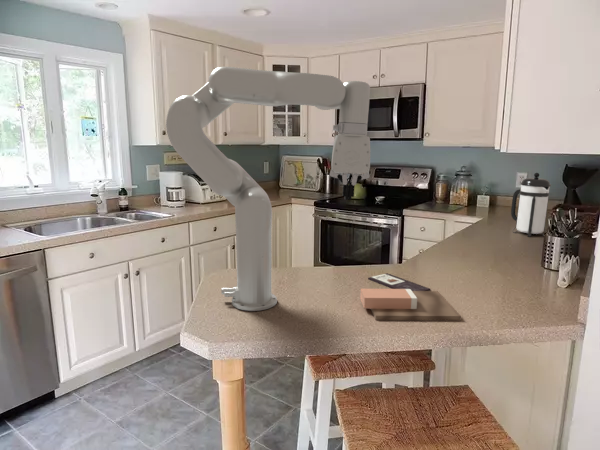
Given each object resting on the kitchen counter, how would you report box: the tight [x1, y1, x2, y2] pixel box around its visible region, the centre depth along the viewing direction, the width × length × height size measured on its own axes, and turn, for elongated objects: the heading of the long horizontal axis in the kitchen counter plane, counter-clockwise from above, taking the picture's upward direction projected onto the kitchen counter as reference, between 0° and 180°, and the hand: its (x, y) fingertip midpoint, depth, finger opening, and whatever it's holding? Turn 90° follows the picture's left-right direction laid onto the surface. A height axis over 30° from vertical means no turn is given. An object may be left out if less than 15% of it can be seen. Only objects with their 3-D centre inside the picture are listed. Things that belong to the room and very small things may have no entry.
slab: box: [360, 288, 417, 310], centre depth 117 cm, size 3×7×14 cm
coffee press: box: [510, 172, 552, 238], centre depth 208 cm, size 17×16×30 cm
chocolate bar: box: [367, 273, 432, 291], centre depth 136 cm, size 9×1×18 cm
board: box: [370, 290, 462, 321], centre depth 119 cm, size 22×18×1 cm
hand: (347, 199), depth 117 cm, fingers closed
